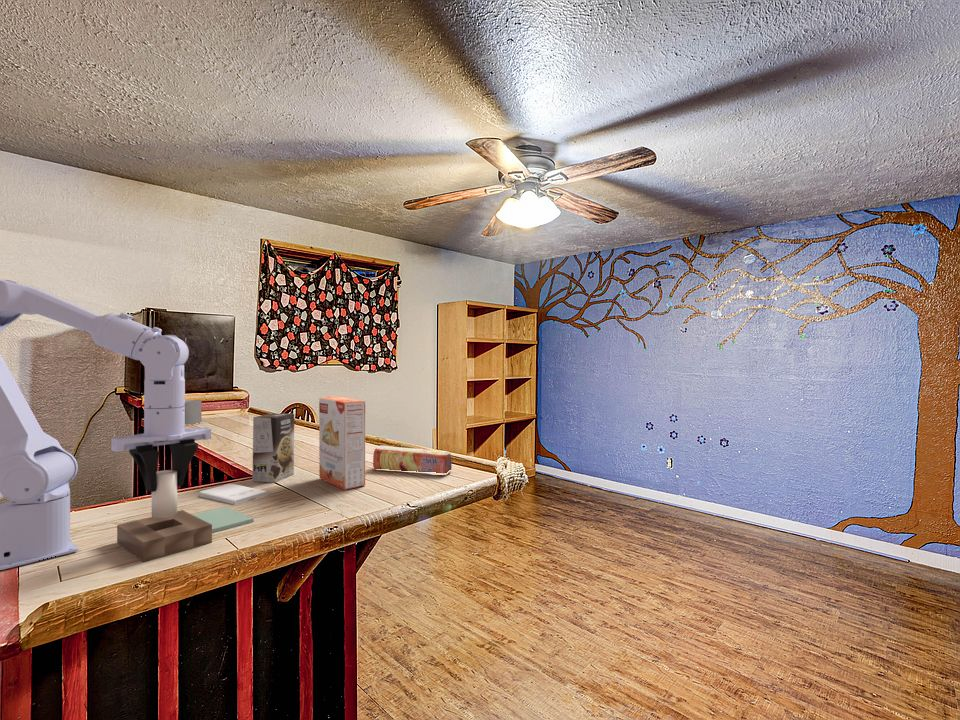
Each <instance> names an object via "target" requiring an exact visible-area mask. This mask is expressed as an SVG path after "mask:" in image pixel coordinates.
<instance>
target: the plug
mask: <svg viewBox="0 0 960 720" xmlns="http://www.w3.org/2000/svg"><path fill="white" fill-rule="evenodd" d="M156 478H157V487H156V491H154V492H151V517H154V518H163V517H169V516H172V515H175V514H176V513H177V511H178V486H177V471H176V470H172V469H168V470H167V469H166V470H165V469H164V470H160V471H159V470H158V471H156Z"/></svg>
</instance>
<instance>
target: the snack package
mask: <svg viewBox="0 0 960 720" xmlns="http://www.w3.org/2000/svg"><path fill="white" fill-rule="evenodd" d="M372 458H373V459H372V462H373V464H372V466H373V470H375V469H389V470H401V471H416V472H417V471H418V472H436V473H447V472H448V471H449V470H452V469H453V468H452V467H453V465H452V461H453V458H452V455H451V452H450V451H448V450H436V449H435V450H433V449H425V448H411V447H401V446H390V445H378V446H376V447H375V448H374V450H373V456H372Z"/></svg>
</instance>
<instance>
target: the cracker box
mask: <svg viewBox="0 0 960 720" xmlns="http://www.w3.org/2000/svg"><path fill="white" fill-rule="evenodd" d="M318 398H319V399H318V401H319V408H318V409H319V410H318V411H319V413H318V415H319V416H318V417H319V420H318V422H319V423H318V425H319V427H318V429H319V433H318V435H319V436H318V438H319V439H318V441H319V442H318V443H319V444H318V447H319V451H318V452H319V453H318V454H319V456H318V458H319V459H318V460H319V462H318V463H319V464H318V465H319V471H318V472H319V475H318V476H319V479H321V480H323V481H325V482H327V483H329V484H331V485H333V486H335V487H336V488H339V489H340V490H343V491H346V490H347V489H348V490H352V489H357V488H360V487H359V486H362V487H365V486H366V401H365V400H361V399H357V398H356V399H355V398H349V397H344V396H340V395H337V396H322V397H318ZM364 485H365V486H364ZM356 487H357V488H356ZM348 490H347V491H348Z"/></svg>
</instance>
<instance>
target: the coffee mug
mask: <svg viewBox="0 0 960 720" xmlns="http://www.w3.org/2000/svg"><path fill="white" fill-rule="evenodd" d="M200 422H201V423H202V399H201V400H200V399H185V424H196V423H200ZM196 425H197V424H196Z"/></svg>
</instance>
